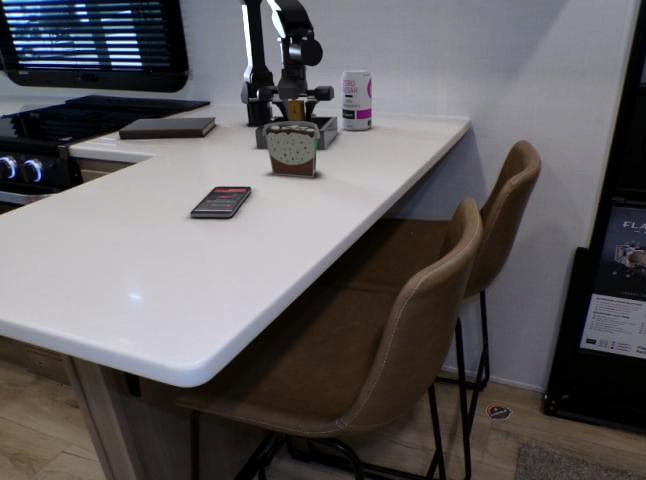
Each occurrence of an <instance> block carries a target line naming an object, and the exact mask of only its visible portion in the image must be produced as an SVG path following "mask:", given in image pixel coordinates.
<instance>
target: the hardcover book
mask: <svg viewBox="0 0 646 480" xmlns="http://www.w3.org/2000/svg"><path fill="white" fill-rule="evenodd" d="M216 119H217V118H216V117H212V116H209V117H174V118H173V117H169V118H139V119H136V120H134V121H132V122H131V123H129V124H128V125H126V126H124V127H122V128H121V129H119V130H118V136H119V138H120V140H134V139H136V140H137V139H171V138H172V139H174V138H177V139H178V138H179V139H181V138H205V136H207V135H208V134H209V133H210V132H211V131H212V130H213V129H214V128H216V126H218V125H217V123H216Z"/></svg>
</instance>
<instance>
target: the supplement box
mask: <svg viewBox="0 0 646 480" xmlns="http://www.w3.org/2000/svg"><path fill="white" fill-rule="evenodd" d="M288 103H289V117H290V121H303V122H305V116H306V107H305V100H304V99H297V100H292V99H289V102H288Z"/></svg>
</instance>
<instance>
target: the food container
mask: <svg viewBox="0 0 646 480" xmlns="http://www.w3.org/2000/svg"><path fill="white" fill-rule="evenodd" d="M264 135H266V141H267V146H268V148H267V150H268V155H269V161H270V167H271V172H272V175H277V176H289V177H300V178H310V179H311V178H315V177H316V169H317V150H318V149H317V139H319V138H320V133H319V129H318V128H317V125H316V124H314V123H311V122H303V121H286V122H276V123H271V124H267V125H264V129H263V136H264Z"/></svg>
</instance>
